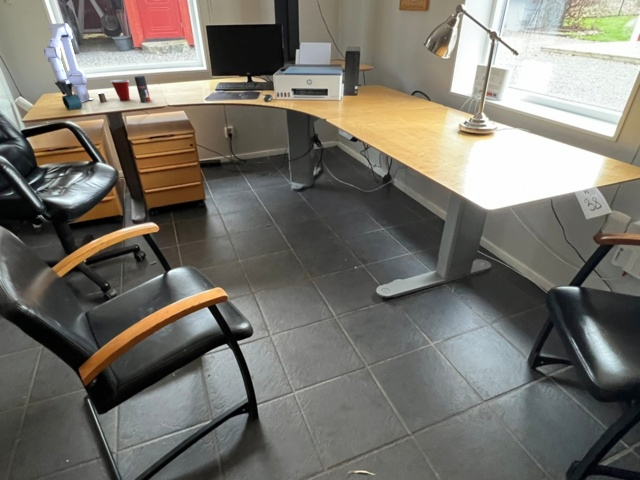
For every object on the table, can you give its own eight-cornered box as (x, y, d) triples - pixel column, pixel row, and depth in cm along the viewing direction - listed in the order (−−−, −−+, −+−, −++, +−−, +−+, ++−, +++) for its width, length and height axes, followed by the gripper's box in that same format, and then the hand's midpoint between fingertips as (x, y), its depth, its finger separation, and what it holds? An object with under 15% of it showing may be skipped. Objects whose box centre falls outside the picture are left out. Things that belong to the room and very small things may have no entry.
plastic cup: (137, 98, 253) (132, 78, 247) (125, 102, 245) (120, 82, 238) (124, 97, 256) (119, 78, 250) (112, 101, 248) (106, 81, 241)
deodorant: (147, 102, 242) (140, 77, 234) (139, 102, 243) (132, 77, 235) (152, 100, 247) (146, 75, 238) (144, 100, 248) (137, 75, 239)
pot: (83, 108, 233) (71, 111, 228) (77, 106, 237) (65, 109, 233) (77, 91, 228) (65, 94, 223) (71, 90, 232) (59, 92, 227)
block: (99, 101, 247) (96, 92, 244) (104, 100, 249) (102, 91, 246) (102, 102, 245) (99, 93, 242) (107, 101, 248) (104, 92, 245)
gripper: (46, 70, 222) (55, 94, 229) (56, 72, 214) (65, 98, 221) (59, 68, 226) (68, 92, 234) (69, 71, 218) (78, 95, 226)
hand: (67, 95), depth 228 cm, fingers open, 7 cm apart
